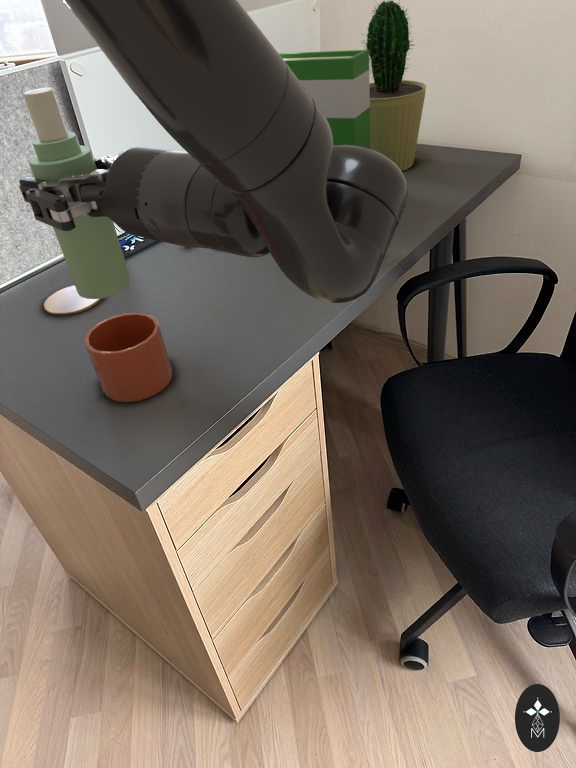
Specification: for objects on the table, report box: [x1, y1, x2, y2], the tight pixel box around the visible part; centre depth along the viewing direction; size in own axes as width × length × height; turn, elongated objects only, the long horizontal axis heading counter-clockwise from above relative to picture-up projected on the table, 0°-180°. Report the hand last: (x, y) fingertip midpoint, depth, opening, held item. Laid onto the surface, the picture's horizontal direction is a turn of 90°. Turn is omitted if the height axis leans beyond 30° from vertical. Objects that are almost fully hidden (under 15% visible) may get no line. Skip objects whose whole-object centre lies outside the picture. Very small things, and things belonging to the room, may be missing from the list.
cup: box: [83, 312, 173, 403], centre depth 68 cm, size 8×8×7 cm
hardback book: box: [278, 49, 371, 149], centre depth 105 cm, size 18×7×24 cm, turn 64°
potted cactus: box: [360, 0, 427, 172], centre depth 113 cm, size 15×15×30 cm
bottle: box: [22, 87, 132, 299], centre depth 56 cm, size 6×6×20 cm
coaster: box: [43, 284, 103, 316], centre depth 88 cm, size 9×9×1 cm
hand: (53, 178), depth 56 cm, fingers closed on bottle, 6 cm apart
